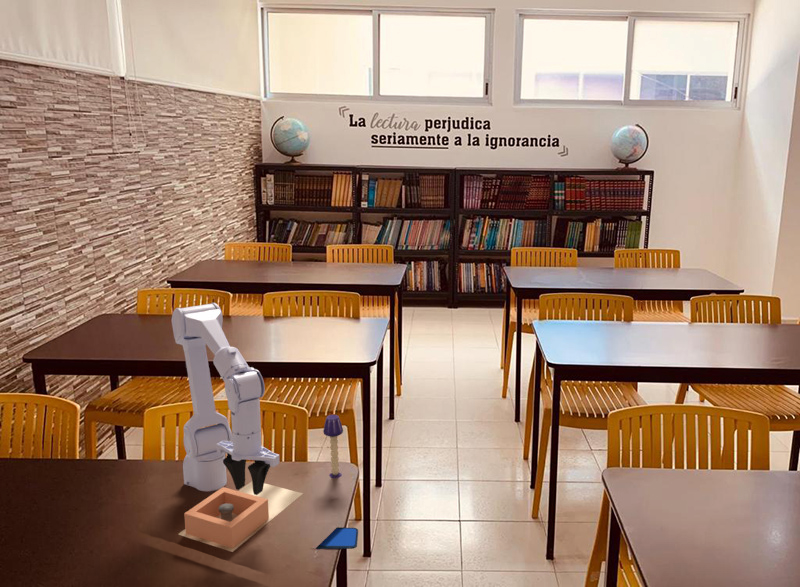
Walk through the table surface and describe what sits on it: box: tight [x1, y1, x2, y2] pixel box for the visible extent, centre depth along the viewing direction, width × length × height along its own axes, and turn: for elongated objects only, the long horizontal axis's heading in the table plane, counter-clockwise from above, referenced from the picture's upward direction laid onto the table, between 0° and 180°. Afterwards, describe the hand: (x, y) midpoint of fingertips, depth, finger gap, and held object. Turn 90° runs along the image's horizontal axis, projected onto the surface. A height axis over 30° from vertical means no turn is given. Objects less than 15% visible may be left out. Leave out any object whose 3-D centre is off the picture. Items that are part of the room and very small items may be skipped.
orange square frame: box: [183, 486, 269, 548], centre depth 142 cm, size 12×12×4 cm
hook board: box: [177, 481, 304, 553], centre depth 147 cm, size 14×25×6 cm, turn 155°
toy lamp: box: [322, 414, 344, 479], centre depth 163 cm, size 5×5×17 cm
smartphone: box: [315, 526, 359, 550], centre depth 141 cm, size 7×1×15 cm
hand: (249, 490), depth 142 cm, fingers open, 4 cm apart
